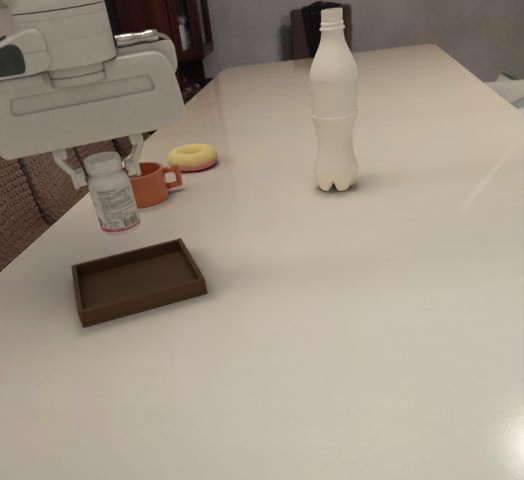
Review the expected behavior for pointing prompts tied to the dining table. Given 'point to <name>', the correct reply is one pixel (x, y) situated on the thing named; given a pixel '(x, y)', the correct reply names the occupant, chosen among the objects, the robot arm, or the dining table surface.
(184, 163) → the donut
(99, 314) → the tray
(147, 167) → the mug
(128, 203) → the pill bottle
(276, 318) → the dining table surface
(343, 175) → the water bottle
